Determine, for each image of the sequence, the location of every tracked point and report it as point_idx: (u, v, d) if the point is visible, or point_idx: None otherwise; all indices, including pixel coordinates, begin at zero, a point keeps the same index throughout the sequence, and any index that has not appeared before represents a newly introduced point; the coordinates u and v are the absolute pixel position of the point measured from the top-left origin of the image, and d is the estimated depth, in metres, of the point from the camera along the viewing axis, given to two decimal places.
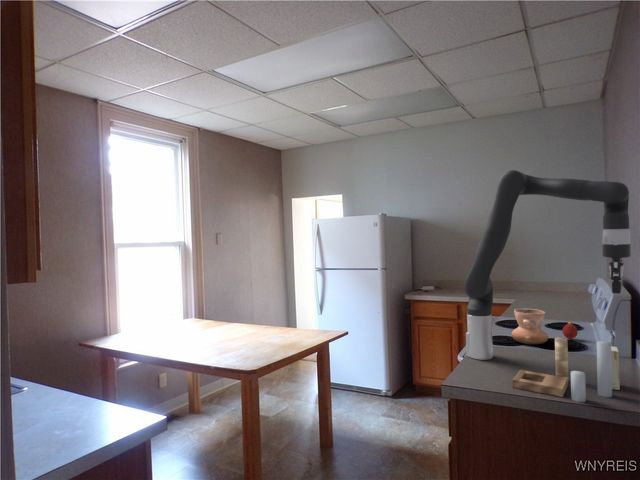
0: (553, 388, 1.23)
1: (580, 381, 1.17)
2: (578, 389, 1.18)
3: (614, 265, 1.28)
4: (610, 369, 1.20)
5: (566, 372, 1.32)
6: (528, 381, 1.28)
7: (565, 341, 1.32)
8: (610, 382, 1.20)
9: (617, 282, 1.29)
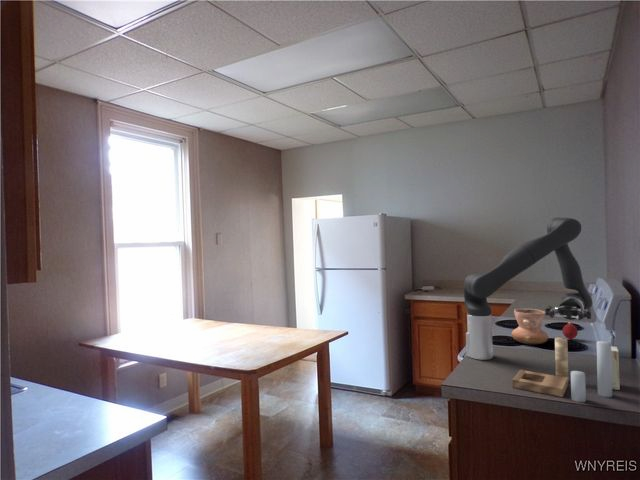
0: (553, 388, 1.23)
1: (580, 381, 1.17)
2: (578, 389, 1.18)
3: None
4: (610, 369, 1.20)
5: (566, 372, 1.32)
6: (528, 381, 1.28)
7: (565, 341, 1.32)
8: (610, 382, 1.20)
9: (584, 316, 1.42)
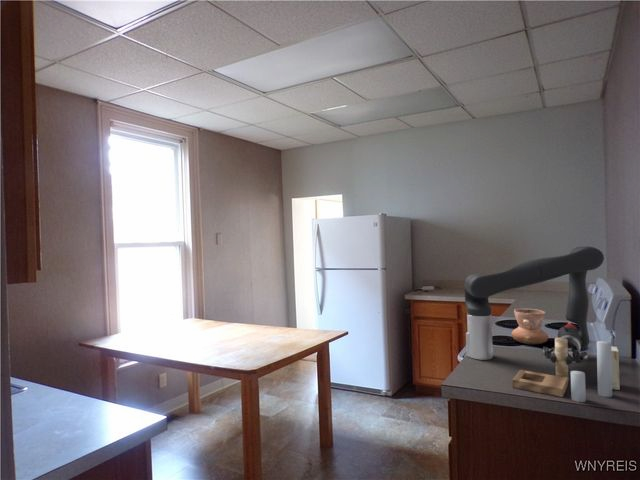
0: (553, 388, 1.23)
1: (580, 381, 1.18)
2: (578, 389, 1.18)
3: (586, 355, 1.35)
4: (610, 369, 1.20)
5: (566, 372, 1.32)
6: (528, 381, 1.28)
7: (565, 341, 1.32)
8: (610, 382, 1.20)
9: None
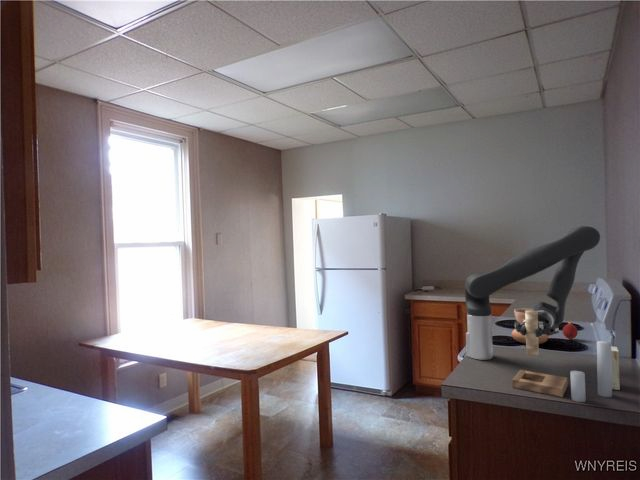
0: (553, 388, 1.23)
1: (580, 381, 1.18)
2: (578, 389, 1.18)
3: (557, 328, 1.32)
4: (610, 369, 1.20)
5: (536, 345, 1.29)
6: (528, 381, 1.28)
7: (535, 313, 1.29)
8: (610, 382, 1.20)
9: None
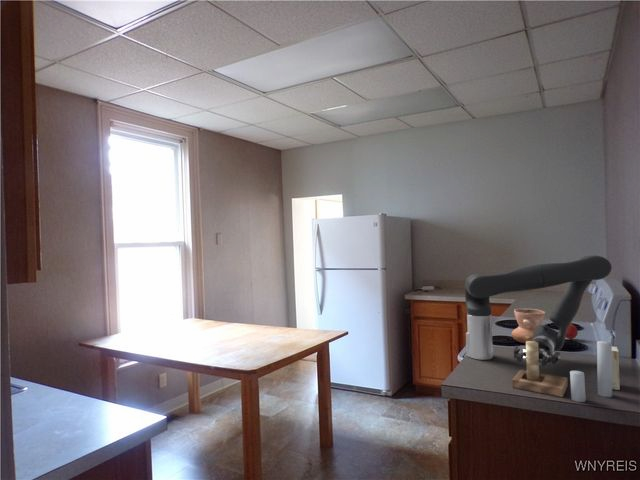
0: (553, 388, 1.23)
1: (579, 380, 1.18)
2: (577, 389, 1.18)
3: (559, 356, 1.32)
4: (610, 369, 1.20)
5: (537, 376, 1.30)
6: (528, 381, 1.28)
7: (536, 345, 1.29)
8: (610, 382, 1.20)
9: (548, 361, 1.29)
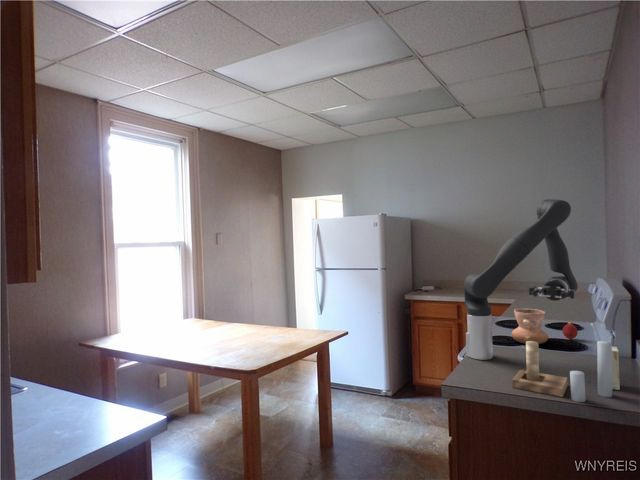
0: (553, 388, 1.23)
1: (579, 381, 1.17)
2: (577, 389, 1.18)
3: None
4: (610, 369, 1.20)
5: (537, 376, 1.30)
6: (528, 381, 1.28)
7: (536, 345, 1.29)
8: (610, 382, 1.20)
9: (567, 295, 1.40)
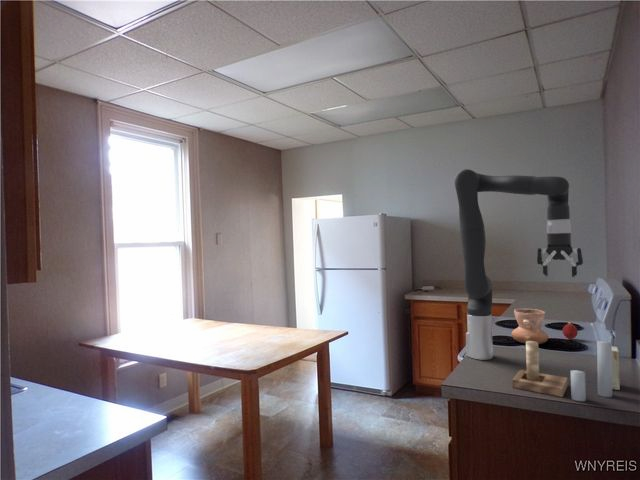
0: (553, 388, 1.23)
1: (578, 379, 1.18)
2: (576, 387, 1.18)
3: (581, 251, 1.43)
4: (610, 369, 1.20)
5: (537, 376, 1.30)
6: (528, 381, 1.28)
7: (536, 344, 1.29)
8: (610, 382, 1.20)
9: None
